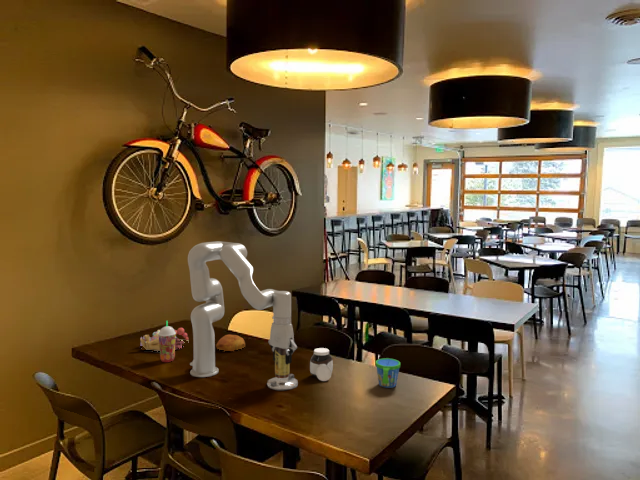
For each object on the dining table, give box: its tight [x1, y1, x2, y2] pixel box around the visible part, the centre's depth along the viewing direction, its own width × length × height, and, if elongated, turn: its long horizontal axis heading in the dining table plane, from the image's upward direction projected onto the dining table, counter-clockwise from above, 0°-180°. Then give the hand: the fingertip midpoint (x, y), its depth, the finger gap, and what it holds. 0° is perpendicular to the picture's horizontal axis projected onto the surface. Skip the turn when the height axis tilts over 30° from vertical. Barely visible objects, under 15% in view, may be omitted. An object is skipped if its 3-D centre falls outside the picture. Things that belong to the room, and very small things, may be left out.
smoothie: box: [158, 320, 177, 363], centre depth 234 cm, size 8×8×20 cm
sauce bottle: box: [274, 347, 291, 378], centre depth 203 cm, size 6×6×20 cm
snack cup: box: [375, 357, 401, 389], centre depth 203 cm, size 16×10×10 cm
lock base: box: [266, 373, 299, 391], centre depth 204 cm, size 13×13×3 cm
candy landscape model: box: [139, 327, 190, 353], centre depth 259 cm, size 25×24×9 cm
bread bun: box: [215, 333, 246, 352], centre depth 256 cm, size 15×16×8 cm
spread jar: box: [309, 347, 334, 382], centre depth 213 cm, size 12×11×12 cm
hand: (282, 361), depth 203 cm, fingers closed on sauce bottle, 6 cm apart
